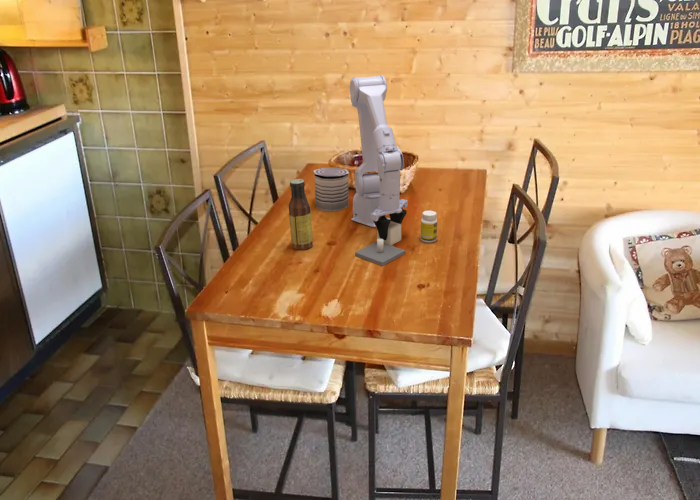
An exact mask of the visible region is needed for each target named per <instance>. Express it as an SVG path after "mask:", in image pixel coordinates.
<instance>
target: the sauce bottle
mask: <svg viewBox="0 0 700 500" xmlns="http://www.w3.org/2000/svg"><path fill="white" fill-rule="evenodd" d="M305 185H306V184H305V180H304V179H303V178H293V179H292V180H290V181H289V187H290V191H291V192H290V193H291V197H290V200H289V202H288V217H289V218H288V219H289V228H290V229H289V230H290V241H291V244H292V245H291V246H292V247H293V248H294V249H296V250H301V251H302V250H303V251H304V250H308V249H310V248H312V247H313V245H314V243H313V241H314V233H313V223H312V212H311V211H312V209H311V206H310V203H309V201H308V199H307V196H306V193H305Z"/></svg>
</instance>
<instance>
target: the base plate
mask: <svg viewBox="0 0 700 500" xmlns="http://www.w3.org/2000/svg"><path fill="white" fill-rule="evenodd" d="M403 255H406V250H405V249H402V248H399V247H397V246H394V245H388V244H385V243H384V240H383V239H376V241H375V242H373V243H371V244H369V245H367V246H365V247H363V248H361V249H359V250H357V251H355V252H354V256H355V257H359V258H360V259H363V260H365V261H367V262H370V263H371V262H372V263H374V264H377V265H379V266H381V267H383V266H385V265H387V264H389V263H390V262H393V261H395V260H396V259H398V258H400V257H402V256H403Z"/></svg>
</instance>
